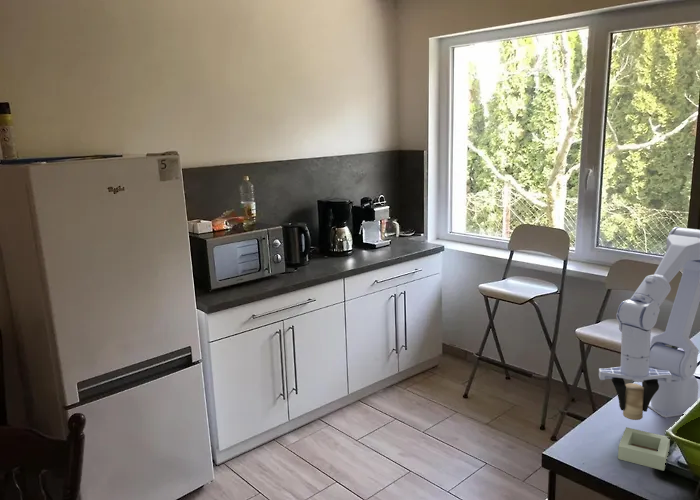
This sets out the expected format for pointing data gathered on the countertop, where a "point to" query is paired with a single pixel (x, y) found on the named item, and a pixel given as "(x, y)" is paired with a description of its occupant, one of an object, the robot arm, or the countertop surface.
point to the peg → (634, 401)
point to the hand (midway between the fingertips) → (632, 408)
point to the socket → (644, 448)
